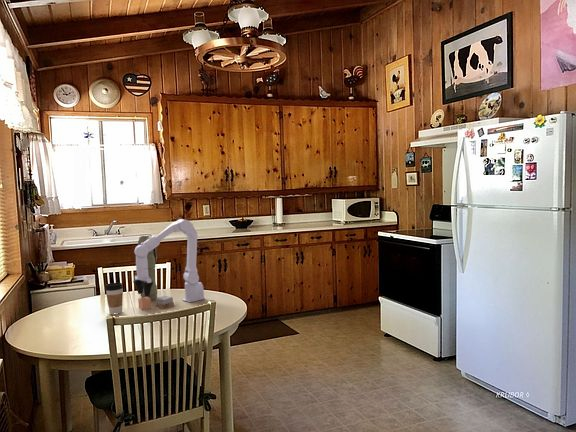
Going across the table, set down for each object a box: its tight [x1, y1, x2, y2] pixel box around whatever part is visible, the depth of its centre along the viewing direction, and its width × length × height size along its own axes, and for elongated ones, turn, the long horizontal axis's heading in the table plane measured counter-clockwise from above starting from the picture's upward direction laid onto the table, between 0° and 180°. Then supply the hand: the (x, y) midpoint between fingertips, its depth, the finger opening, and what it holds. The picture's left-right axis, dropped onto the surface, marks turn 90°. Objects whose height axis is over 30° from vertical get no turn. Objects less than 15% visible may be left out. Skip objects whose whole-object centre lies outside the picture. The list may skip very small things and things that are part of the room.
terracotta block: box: [137, 297, 152, 310], centre depth 237 cm, size 4×4×5 cm
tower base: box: [154, 301, 175, 310], centre depth 239 cm, size 7×7×2 cm
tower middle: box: [155, 295, 174, 305], centre depth 238 cm, size 6×6×2 cm
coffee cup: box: [104, 282, 124, 315], centre depth 230 cm, size 8×8×15 cm
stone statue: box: [134, 235, 158, 301], centre depth 254 cm, size 9×12×35 cm
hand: (143, 294), depth 237 cm, fingers open, 7 cm apart
